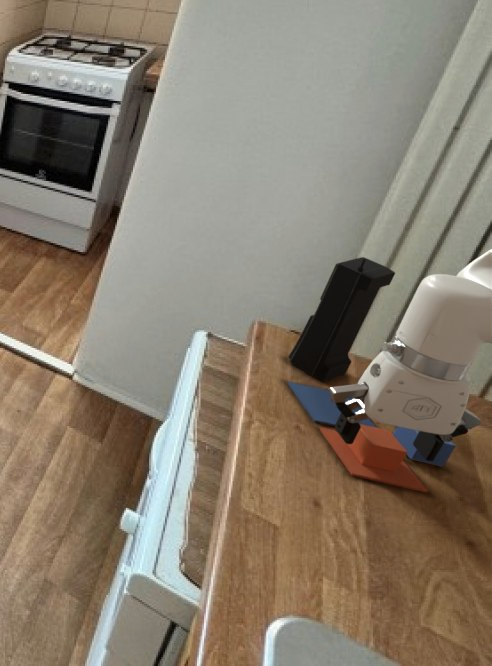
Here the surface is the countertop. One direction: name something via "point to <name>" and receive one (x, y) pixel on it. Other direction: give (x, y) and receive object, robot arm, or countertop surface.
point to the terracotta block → (378, 448)
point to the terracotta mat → (398, 478)
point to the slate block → (407, 439)
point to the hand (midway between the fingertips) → (381, 444)
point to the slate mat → (321, 404)
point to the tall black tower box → (339, 318)
